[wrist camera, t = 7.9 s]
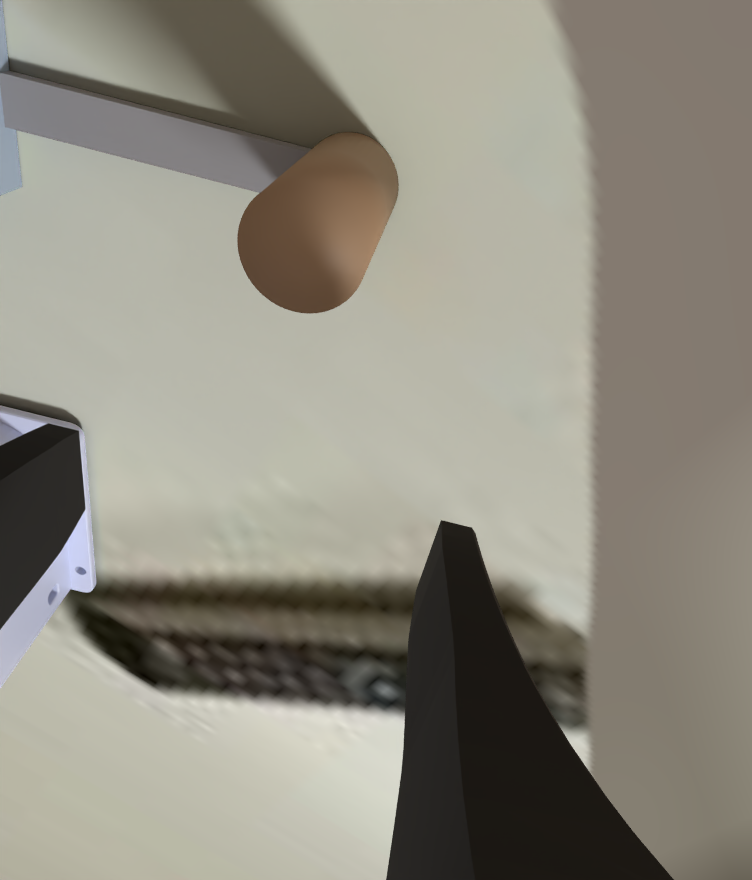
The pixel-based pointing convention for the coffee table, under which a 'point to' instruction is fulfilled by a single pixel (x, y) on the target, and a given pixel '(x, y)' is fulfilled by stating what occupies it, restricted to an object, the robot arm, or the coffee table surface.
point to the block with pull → (230, 181)
